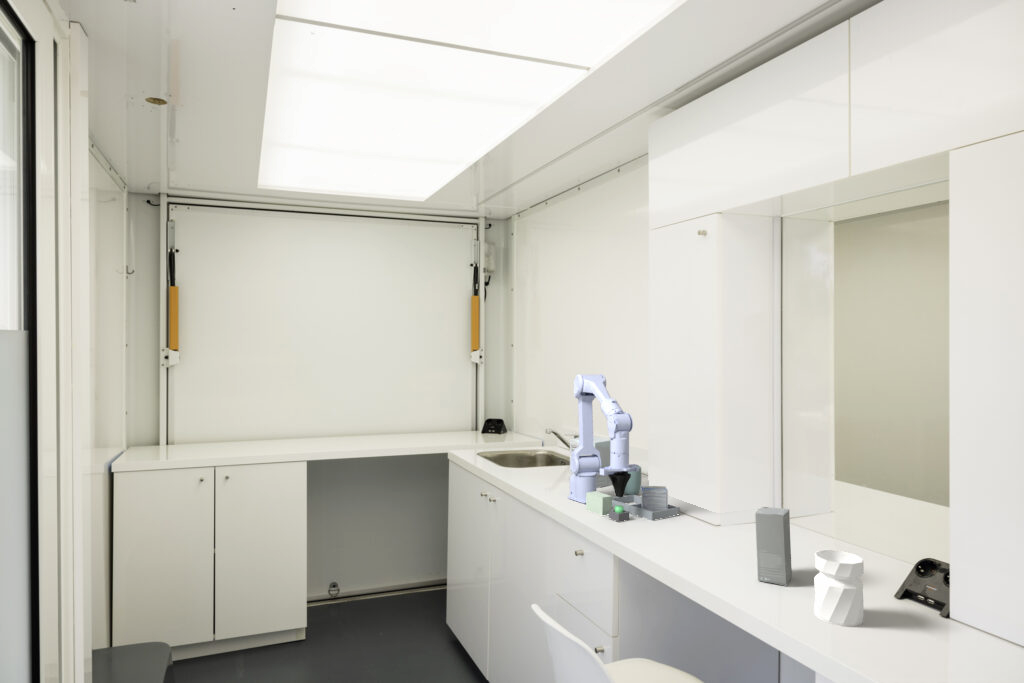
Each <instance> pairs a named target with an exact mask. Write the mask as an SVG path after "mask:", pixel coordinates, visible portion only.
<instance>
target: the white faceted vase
mask: <svg viewBox="0 0 1024 683" xmlns="http://www.w3.org/2000/svg"><path fill="white" fill-rule="evenodd" d="M814 563H815V565H814V568H815V569H816V570H817V571H818V573H817V574H816V575H815V576H814V578H813V580H814V581H813V582H814V583H813V585H814V587H813V588H814V604H813V614H814V615H815V617H816V618H817V619H818V620H821V621H823V622H825V623H828V624H831V625H836V626H840V627H856V626H859V625H862V624H863V622H864V591H863V590H864V584H863V582H862V581H861V580H860V579H859V577H861V576H862V575H863V574H864V572H865V570H864V568H865V566H864V558H862V556H859V555H857V554H855V553H851V552H849V551H848V552H847V551H844V550H843V551H842V550H835V549H819V550H817V551H815V552H814Z"/></svg>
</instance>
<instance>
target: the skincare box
mask: <svg viewBox="0 0 1024 683" xmlns="http://www.w3.org/2000/svg"><path fill="white" fill-rule="evenodd" d="M754 515H755V516H754V517H755V518H754V519H755V538H756V540H755V541H756V542H755V543H756V564H757V580H758V581H759V582H764V583H769V584H775V585H780V586H784V587H787V586H788V584H789V582H790V581H791V579H792V576H793V573H792V572H793V571H792V549H791V547H792V546H791V545H792V544H791V526H790V525H791V524H790V509H788V508H782V507H781V508H780V507H779V508H778V507H769V506H761V508H758V509H757V511H756V512H755V514H754Z"/></svg>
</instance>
